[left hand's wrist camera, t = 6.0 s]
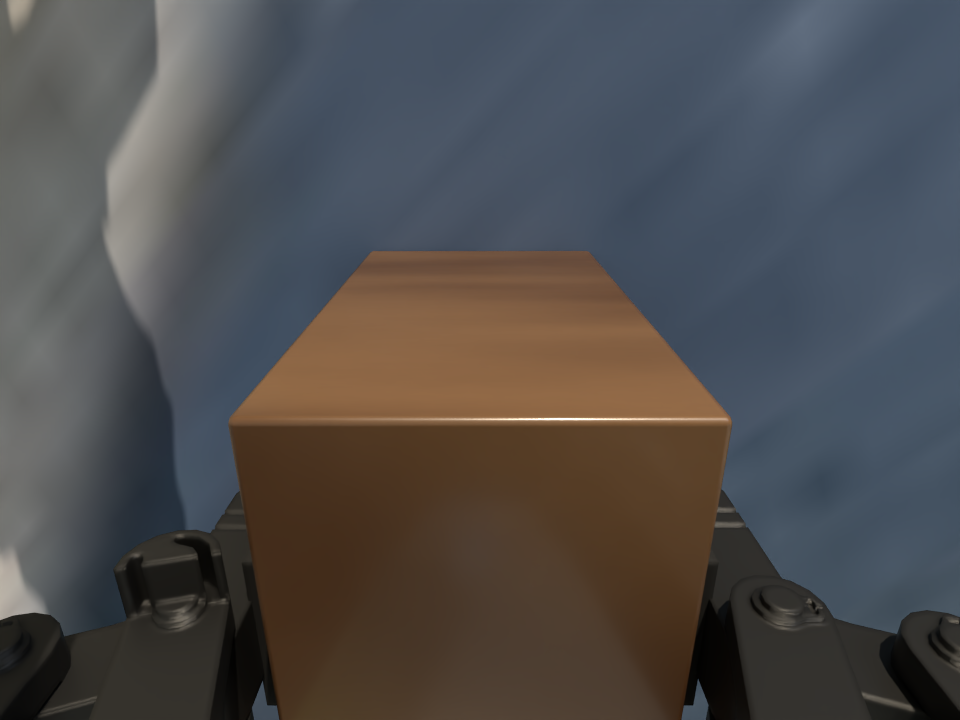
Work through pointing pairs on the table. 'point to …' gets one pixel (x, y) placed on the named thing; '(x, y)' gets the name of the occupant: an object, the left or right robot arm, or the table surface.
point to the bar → (480, 496)
